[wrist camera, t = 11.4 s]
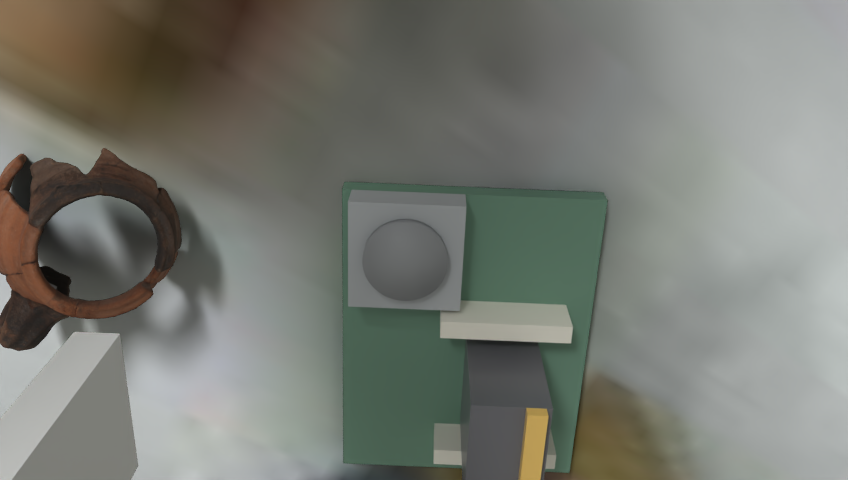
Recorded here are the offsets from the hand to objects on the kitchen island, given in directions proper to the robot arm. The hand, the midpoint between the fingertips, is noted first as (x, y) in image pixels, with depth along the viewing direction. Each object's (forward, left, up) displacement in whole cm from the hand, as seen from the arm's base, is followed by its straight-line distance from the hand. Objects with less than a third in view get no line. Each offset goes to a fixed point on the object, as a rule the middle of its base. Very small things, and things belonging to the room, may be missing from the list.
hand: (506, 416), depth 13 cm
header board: (+15, +1, -29) cm, 32 cm away
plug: (+17, +3, -27) cm, 33 cm away
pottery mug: (+9, -20, -29) cm, 37 cm away
